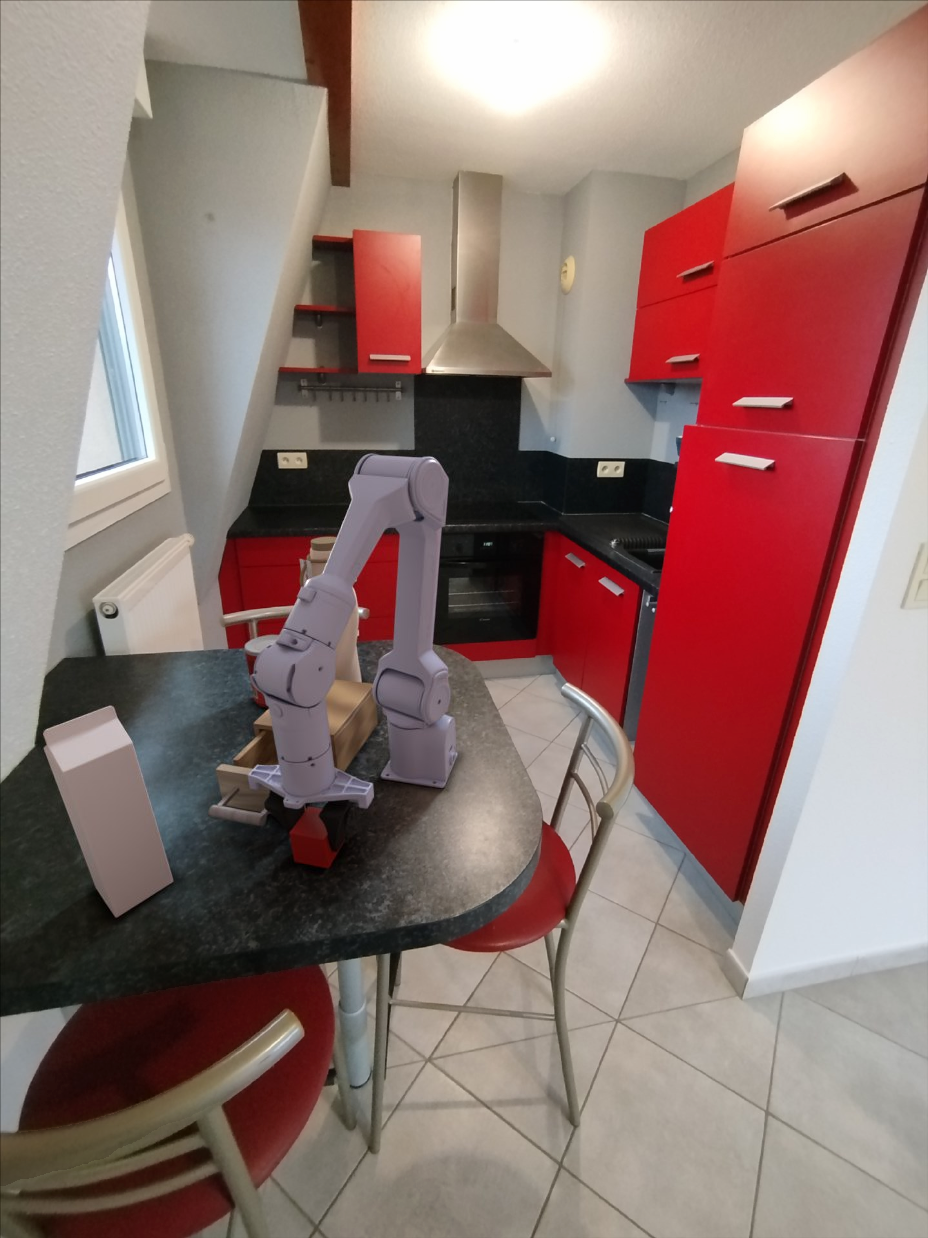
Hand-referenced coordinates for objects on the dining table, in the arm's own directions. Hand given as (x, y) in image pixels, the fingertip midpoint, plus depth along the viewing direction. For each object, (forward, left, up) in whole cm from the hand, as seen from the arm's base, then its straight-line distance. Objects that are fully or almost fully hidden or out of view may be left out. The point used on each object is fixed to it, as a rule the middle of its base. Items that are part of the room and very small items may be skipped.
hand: (318, 841), depth 63 cm
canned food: (+25, -31, -2) cm, 40 cm away
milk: (+18, +9, -2) cm, 20 cm away
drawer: (+10, -8, -1) cm, 13 cm away
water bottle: (+16, -38, -2) cm, 41 cm away
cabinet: (+10, -20, -2) cm, 22 cm away
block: (0, 0, -1) cm, 1 cm away
